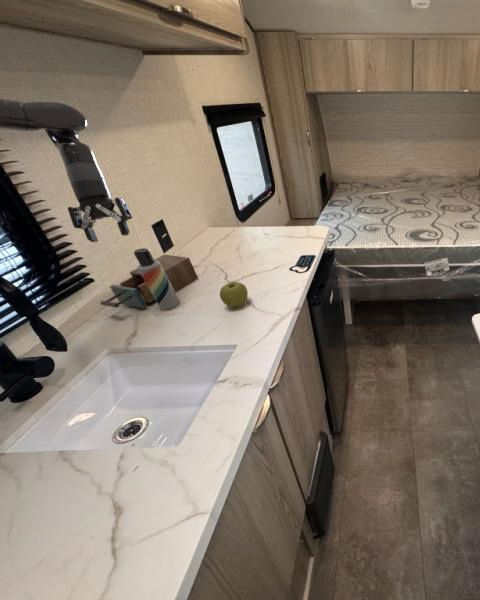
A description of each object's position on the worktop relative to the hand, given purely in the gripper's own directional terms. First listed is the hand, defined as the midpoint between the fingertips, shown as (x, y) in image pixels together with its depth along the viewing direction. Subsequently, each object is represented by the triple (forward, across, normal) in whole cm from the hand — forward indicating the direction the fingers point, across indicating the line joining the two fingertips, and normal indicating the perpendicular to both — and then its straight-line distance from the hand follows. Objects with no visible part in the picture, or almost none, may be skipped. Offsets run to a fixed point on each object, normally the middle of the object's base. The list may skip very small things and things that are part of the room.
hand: (110, 238), depth 96 cm
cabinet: (+17, +2, +19) cm, 25 cm away
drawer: (+20, -4, +10) cm, 22 cm away
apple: (+28, +28, +1) cm, 40 cm away
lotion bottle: (+24, +6, +6) cm, 25 cm away
